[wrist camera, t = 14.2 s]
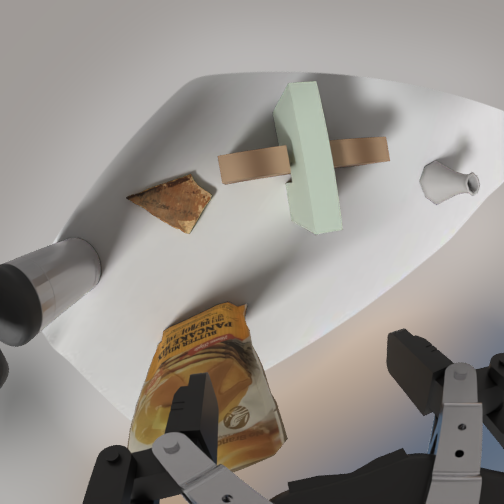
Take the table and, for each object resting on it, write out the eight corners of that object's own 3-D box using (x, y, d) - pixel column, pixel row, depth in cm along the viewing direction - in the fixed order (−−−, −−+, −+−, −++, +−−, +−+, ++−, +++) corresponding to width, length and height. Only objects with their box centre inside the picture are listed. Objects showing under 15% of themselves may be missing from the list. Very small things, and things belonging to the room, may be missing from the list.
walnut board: (225, 184, 41) (222, 183, 31) (221, 163, 41) (217, 156, 31) (358, 165, 42) (390, 160, 32) (354, 146, 41) (385, 136, 31)
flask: (412, 181, 43) (450, 181, 33) (433, 153, 42) (471, 149, 32) (435, 212, 44) (473, 219, 34) (455, 184, 43) (493, 186, 33)
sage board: (272, 113, 39) (288, 83, 27) (292, 110, 39) (316, 81, 27) (291, 221, 43) (315, 234, 30) (311, 217, 43) (342, 229, 30)
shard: (128, 197, 41) (124, 198, 39) (154, 152, 40) (151, 151, 38) (189, 235, 43) (187, 237, 41) (217, 189, 42) (216, 189, 40)
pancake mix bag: (268, 322, 46) (305, 466, 19) (166, 367, 47) (123, 503, 19) (248, 286, 44) (270, 420, 17) (144, 335, 45) (77, 465, 18)
